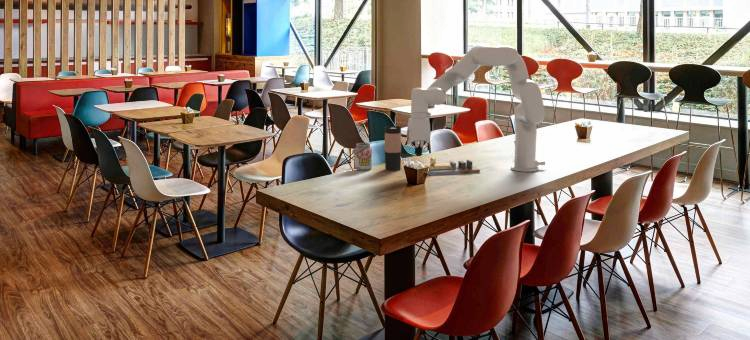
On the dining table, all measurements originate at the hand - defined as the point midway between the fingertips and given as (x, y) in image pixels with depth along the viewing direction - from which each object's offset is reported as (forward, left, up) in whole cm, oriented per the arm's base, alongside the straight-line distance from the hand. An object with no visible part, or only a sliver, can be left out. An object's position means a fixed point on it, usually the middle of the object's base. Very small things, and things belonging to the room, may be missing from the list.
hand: (418, 155), depth 309 cm
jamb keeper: (-23, 0, -8) cm, 24 cm away
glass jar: (+23, -16, -9) cm, 29 cm away
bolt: (-10, 0, -7) cm, 12 cm away
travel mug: (+9, -12, -9) cm, 17 cm away
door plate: (-11, 0, -8) cm, 14 cm away
